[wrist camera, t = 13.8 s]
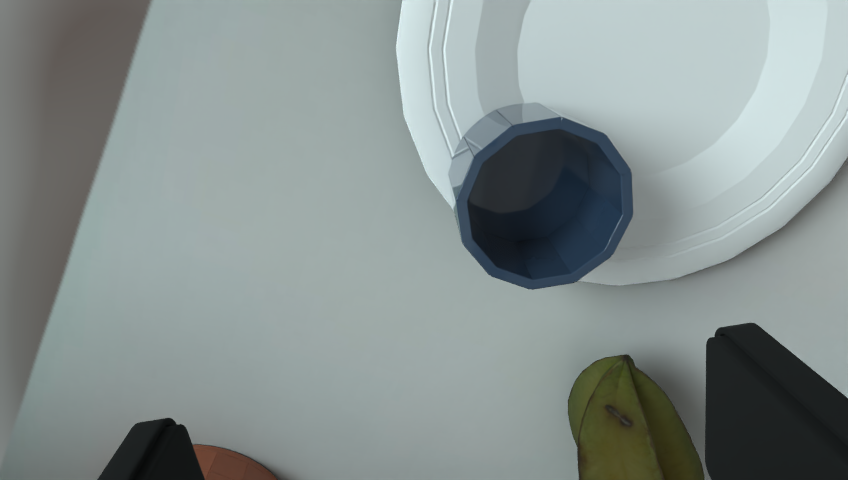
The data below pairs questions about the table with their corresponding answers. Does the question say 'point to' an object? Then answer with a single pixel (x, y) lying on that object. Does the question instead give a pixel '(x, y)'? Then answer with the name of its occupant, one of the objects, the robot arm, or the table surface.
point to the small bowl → (539, 195)
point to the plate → (649, 106)
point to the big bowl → (229, 465)
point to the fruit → (628, 426)
